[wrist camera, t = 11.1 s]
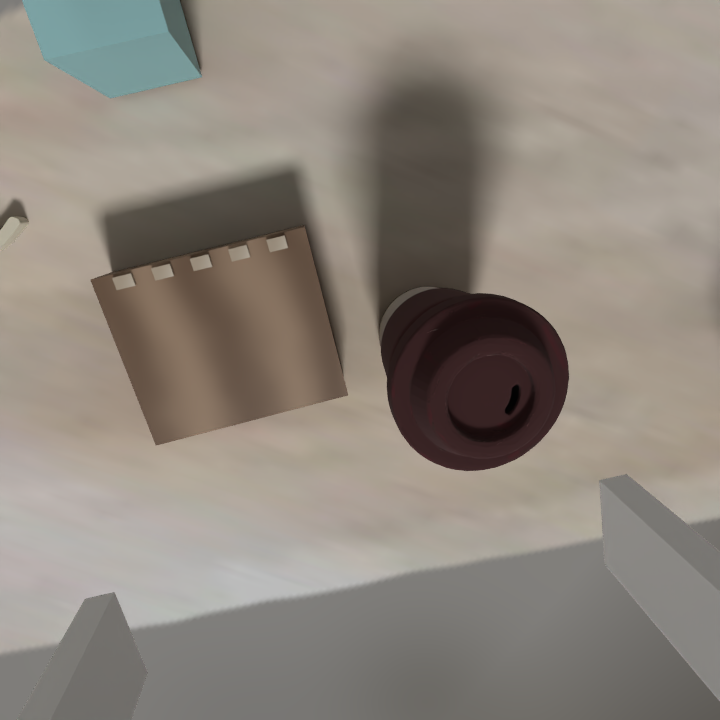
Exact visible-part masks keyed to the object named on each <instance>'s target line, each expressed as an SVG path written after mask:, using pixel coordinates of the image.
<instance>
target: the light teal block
mask: <svg viewBox="0 0 720 720" xmlns="http://www.w3.org/2000/svg"><path fill="white" fill-rule="evenodd" d="M22 2H23V4H24V7H25V10H26V12H27V15H28V18H29V20H30V23H31V26H32V28H33V31H34V34H35V36H36V39H37V42H38V44H39V47H40V50H41V52H42V55H43V58H44V60H45V61H47V62H49V63H50V64H52V65H54V66H56V67H57V68H59V69H61V70H62V71H64V72H66V73H68V74H69V75H71V76H73V77H75V78H76V79H78V80H80V81H81V82H83V83H85V84H87V85H88V86H90V87H92V88H93V89H95V90H97V91H99V92H100V93H102V94H104V95H105V96H107V97H109V98H114V97H118V96H123V95H127V94H131V93H136V92H140V91H144V90H149V89H153V88H157V87H161V86H166V85H170V84H174V83H179V82H183V81H187V80H192V79H196V78H200V77H202V75H201V72H200V68H199V65H198V62H197V58H196V55H195V51H194V48H193V44H192V41H191V38H190V34H189V31H188V27H187V24H186V20H185V17H184V14H183V10H182V7H181V3H180V0H22Z"/></svg>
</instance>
